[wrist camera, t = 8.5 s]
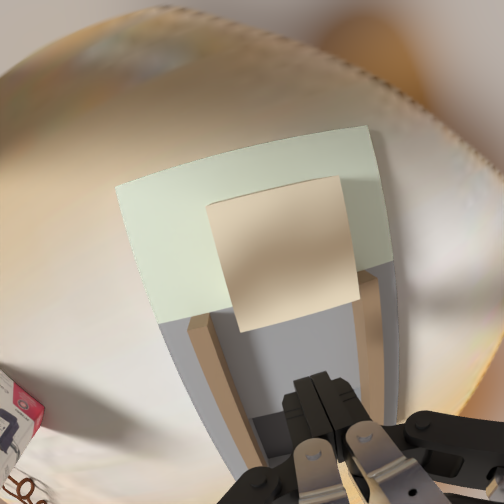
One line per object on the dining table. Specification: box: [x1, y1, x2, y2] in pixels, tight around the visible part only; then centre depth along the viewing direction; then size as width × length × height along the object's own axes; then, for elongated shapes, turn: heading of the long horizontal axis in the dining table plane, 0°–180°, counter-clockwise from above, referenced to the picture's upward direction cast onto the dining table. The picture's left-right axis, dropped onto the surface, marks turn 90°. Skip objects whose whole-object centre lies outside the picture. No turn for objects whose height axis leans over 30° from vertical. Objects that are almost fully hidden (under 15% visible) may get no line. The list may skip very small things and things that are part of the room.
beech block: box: [205, 175, 360, 333], centre depth 15 cm, size 6×6×4 cm
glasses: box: [2, 475, 47, 504], centre depth 23 cm, size 13×13×5 cm
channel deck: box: [115, 125, 399, 481], centre depth 19 cm, size 28×16×4 cm, turn 14°
